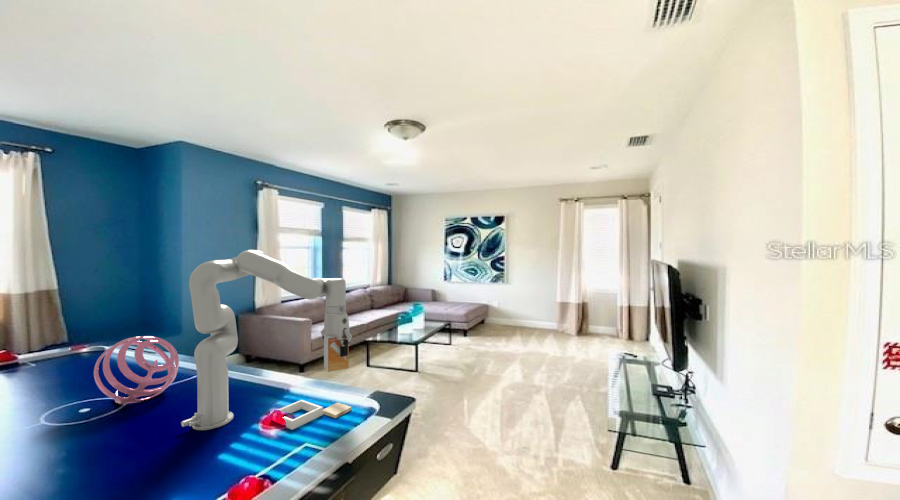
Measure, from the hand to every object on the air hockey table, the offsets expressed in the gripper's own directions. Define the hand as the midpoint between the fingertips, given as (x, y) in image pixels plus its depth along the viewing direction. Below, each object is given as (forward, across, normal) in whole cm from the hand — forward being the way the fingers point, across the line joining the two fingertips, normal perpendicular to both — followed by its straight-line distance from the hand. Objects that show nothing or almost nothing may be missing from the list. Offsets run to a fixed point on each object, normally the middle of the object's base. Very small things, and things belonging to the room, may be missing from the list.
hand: (336, 354), depth 136 cm
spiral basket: (+23, +83, +35) cm, 93 cm away
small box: (+6, 0, 0) cm, 6 cm away
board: (+23, 0, 0) cm, 23 cm away
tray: (+23, +9, +11) cm, 27 cm away
